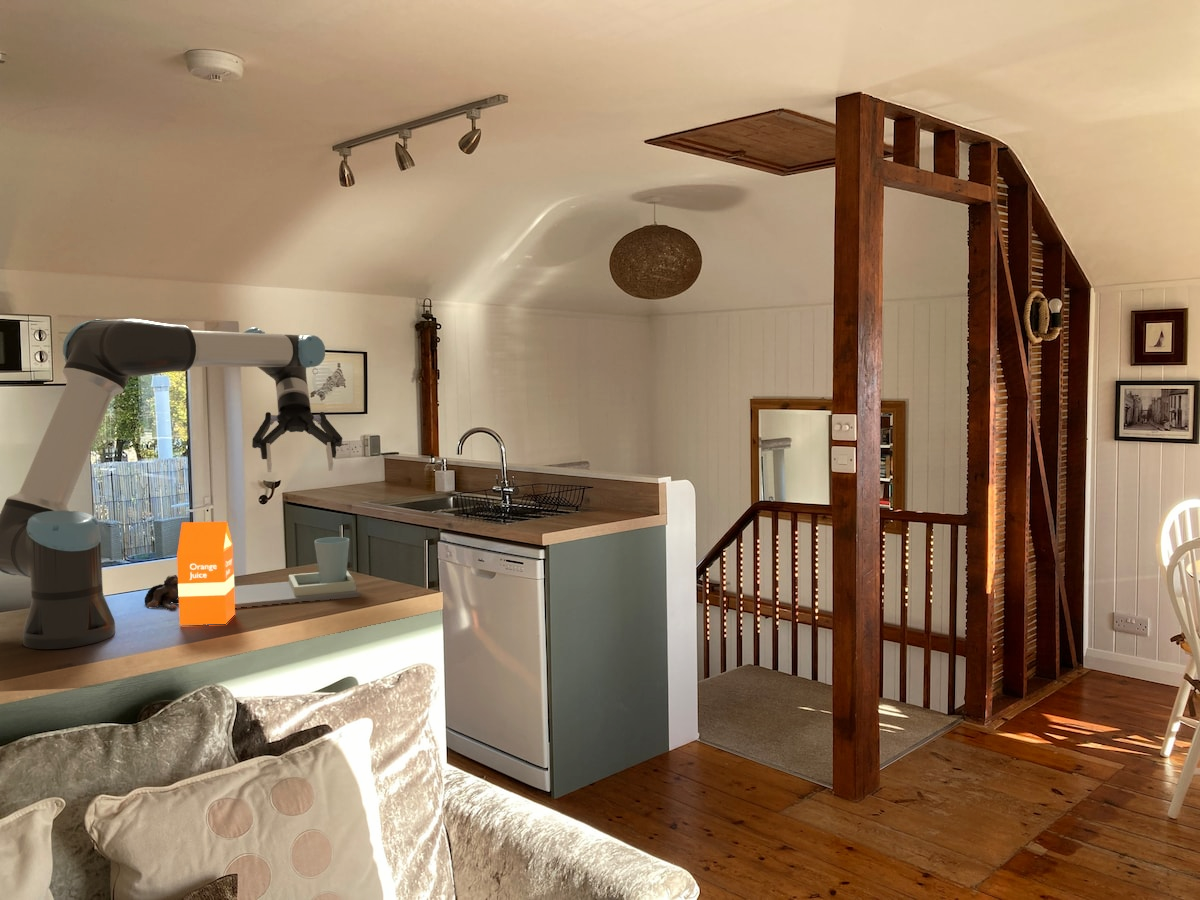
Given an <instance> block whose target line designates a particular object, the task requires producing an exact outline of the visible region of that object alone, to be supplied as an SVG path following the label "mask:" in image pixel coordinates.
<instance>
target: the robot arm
mask: <svg viewBox="0 0 1200 900" xmlns="http://www.w3.org/2000/svg"><path fill="white" fill-rule="evenodd" d="M62 355H63V356H64V360H65V361H64V362H65V365H64V367H63V369H62V373H63V375H64V377H65V379H66V385H65V386H64V389H63V391H62V394H61V396H60V398H59V401H58V403H57V406H56V407H55V410H54V412H53V414H52V416H51V419H50V421H49V423H48V426H47V428H46V430H45V432H44V435H43V437H42V439H41V441H40V444H39V446H38V449H37V451H36V453H35V455H34V458H33V460H32V462H31V464H30V467H29V470H28V472H27V474H26V477H25V479H24V481H23V483H22V486H21V487H20V490H19V491H18V492H17V493H15V494H13V495H10V496H8V497H7V498H6V500H5V502H4V504H3V506H2V509H1V511H0V572H1V573H3V574H7V575H10V576H19V577H20V576H21V577H26V578H30V591H31V604H30V606H29V610H28V613H27V617H26V620H25V621H24V622H25V623H24V626H23V629H22V645H23V646H24V647H26V648H30V649H35V650H57V649H59V650H60V649H70V648H71V649H72V648H77V647H81V646H87V645H92V644H95V643H99V642H101V641H102V642H103V641H104V640H107V639H109V638H111V637H113V636H114V635H115V634H116V621H115V619H114V616H113V614H112V612H111V611H112V610H111V609H110V607H109V605H108V602H107V600H106V598H105V596H104V589H103V587H104V586H103V569H102V568H103V565H102V546H101V543H102V542H101V541H102V533H101V529H100V523H99V521H98V519H97V518H96V517H95V516H94V515H93V514H90V513H87V512H84V511H77V510H76V511H75V510H72V511H69V508H68V504H69V502H70V499H71V497H72V495H73V492H74V489H75V487H76V485H77V483H78V480H79V478H80V475H81V472H83V471H82V470H83V468H84V465H85V464H86V461H87V458H88V455H89V453H90V452H91V450H92V449H91V448H92V446H93V444H94V441H95V440H96V436H97V434H98V432H99V430H100V428H101V424H102V422H103V421H104V420H103V419H104V418H105V415H106V413H107V410H108V408H109V405H110V404H111V401H112V398H114V397H116V396H119V395H121V394H123V392H124V391H125V388H126V386H127V384H128V382H129V379H130V377H142V376H150V375H157V374H163V373H171V372H174V373H175V372H180V373H181V372H187V371H189V370H191V368H193V367H197V368H199V367H200V368H202V367H204V368H205V367H206V368H208V367H211V368H214V367H215V368H218V367H219V368H220V367H222V368H226V367H227V368H240V367H241V368H243V367H245V368H246V367H247V368H252V367H253V368H254V367H255V368H258V369H260V370H261V371H262V372H264V373H265V374H266V375H268V376H269V377H270V378H272V379H273V380H274V381H275V388H276V389H275V390H276V400H277V411H278V412H277V413H278V414H277V415H275V414H272V413H271V412H269V411H267V412H266V413H265V415H264V416H265V418H264V420H263V422H262V423H261V425H260V426H259V428H258V430H257V431H256V433H255V434H254V436H253V437H252V444H251V445H252V446H251V447H252V448H254V449H257V448H258V449H260V451H259V452H260V454H261V455H260V457H261V459H262V460H266V467H267V468H266V469H267V470H266V471H267V473H271V472H272V464H273V463H272V452H271V445H273V443H274V442H276V440H278V439H279V438H280V437H281V436H282V435H285V433H286V432H287V431H288V432H289V433H295V432H298V433H303V432H306V433H307V434H308V435H311V436H312V437H314V438H316V439H317V440H318V441H320V442H321V443H322V444H323V445H325V446H326V447H325V449H326V450H325V451H326V458H327V465H328V466H327V467H328V471H333V468H334V460H333V459H334V458H336V456H337V448H336V447H339V448H340V447H342V445H343V437H342V435H341V434H340V433H339V432H338V430H337V429H335V427H334V426H333V425H332V424H331V422H330V421H329V420H328V419H327V416H326V414H325V412H324V411H321V412H319V414H313V413H312V408H311V402H310V395H309V394H310V392H309V386H308V379H307V369H309V368H315V367H318V366H319V365H321V364H322V363H323V361H325V360H324V359H325V357H326V346H325V344H324V341H323V340H322V339H321V338H320V337H319V336H316V335H313V334H279V333H266V332H265V331H263V330H261V329H260V328H257V327H250V328H248V329H246V330H245V331H244V332H240V331H239V332H237V331H235V332H234V331H216V330H214V331H213V330H211V331H210V330H192V329H191V328H190V327H188V326H187V325H184V324H171V323H170V324H169V323H162V322H157V321H152V320H151V321H150V320H146V319H137V318H126V319H122V318H121V319H104V318H102V319H101V318H100V319H99V318H98V319H92V320H89V321H83V322H81V323H79V324H77V325H75V326H74V327H72V328H71V330H70V331H69V332H68V333H67V335H66V336H65V339H64V341H63V345H62ZM275 422H277V423H278V424H277V425H276V426H275V427H274V428H273V429H272V430H271V431H270V432H269V433H267V432H268V431H269V429H270V427H271V426H272V425H273V424H274V423H275ZM315 422H316V423H317V425H316V423H315ZM318 425H319V426H320V427H319V426H318Z"/></svg>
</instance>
